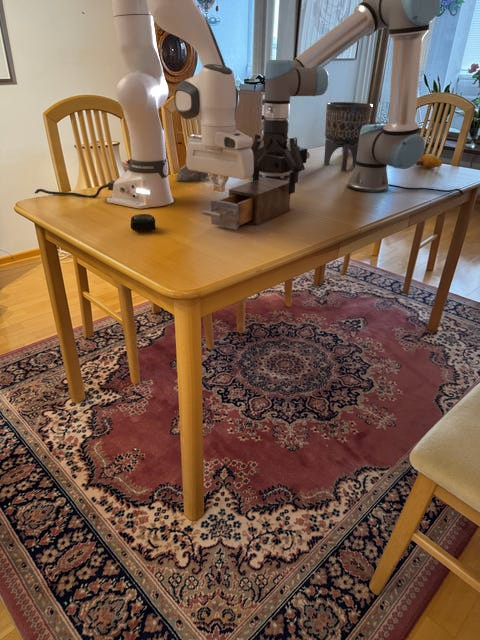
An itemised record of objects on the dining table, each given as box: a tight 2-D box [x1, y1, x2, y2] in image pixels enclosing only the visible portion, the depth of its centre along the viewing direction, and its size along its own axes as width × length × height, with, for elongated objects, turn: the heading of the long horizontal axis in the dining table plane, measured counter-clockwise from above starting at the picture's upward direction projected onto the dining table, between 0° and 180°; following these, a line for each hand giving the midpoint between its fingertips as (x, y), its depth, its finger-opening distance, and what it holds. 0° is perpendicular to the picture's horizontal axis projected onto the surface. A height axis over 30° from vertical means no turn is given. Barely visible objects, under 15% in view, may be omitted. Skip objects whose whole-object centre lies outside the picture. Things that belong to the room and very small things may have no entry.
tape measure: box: [130, 213, 156, 233], centre depth 129 cm, size 7×7×4 cm
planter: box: [323, 101, 374, 172], centre depth 204 cm, size 20×20×26 cm
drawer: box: [202, 194, 254, 231], centre depth 134 cm, size 25×9×7 cm, turn 145°
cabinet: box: [228, 176, 291, 226], centre depth 143 cm, size 20×10×9 cm, turn 145°
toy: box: [415, 153, 443, 170], centre depth 212 cm, size 11×6×15 cm
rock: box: [176, 163, 209, 183], centre depth 181 cm, size 13×9×6 cm, turn 131°
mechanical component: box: [254, 142, 311, 179], centre depth 191 cm, size 22×21×30 cm
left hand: (218, 191), depth 123 cm, fingers closed
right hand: (273, 189), depth 147 cm, fingers open, 13 cm apart
